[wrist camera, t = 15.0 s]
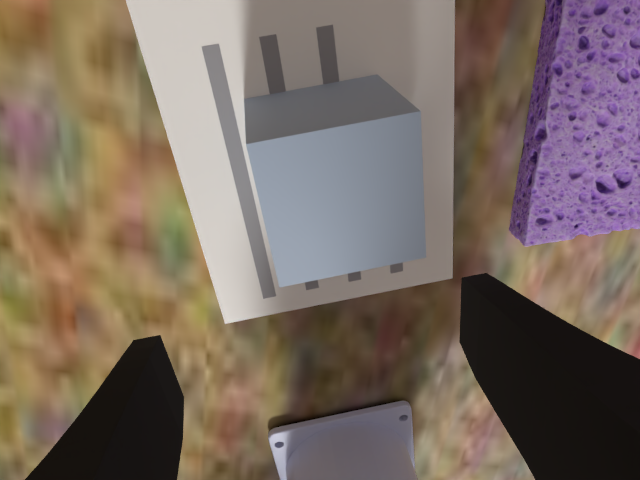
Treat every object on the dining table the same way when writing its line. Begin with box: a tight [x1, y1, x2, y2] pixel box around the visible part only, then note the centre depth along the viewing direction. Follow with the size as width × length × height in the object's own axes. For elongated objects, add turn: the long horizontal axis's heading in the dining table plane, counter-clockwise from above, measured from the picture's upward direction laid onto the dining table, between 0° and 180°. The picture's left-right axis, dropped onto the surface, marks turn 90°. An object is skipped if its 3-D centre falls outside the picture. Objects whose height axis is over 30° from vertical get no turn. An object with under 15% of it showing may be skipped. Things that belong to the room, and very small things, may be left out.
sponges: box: [509, 0, 640, 246], centre depth 19 cm, size 7×13×2 cm, turn 4°
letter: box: [126, 0, 455, 324], centre depth 19 cm, size 15×11×1 cm
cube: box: [244, 74, 426, 288], centre depth 17 cm, size 5×5×5 cm
